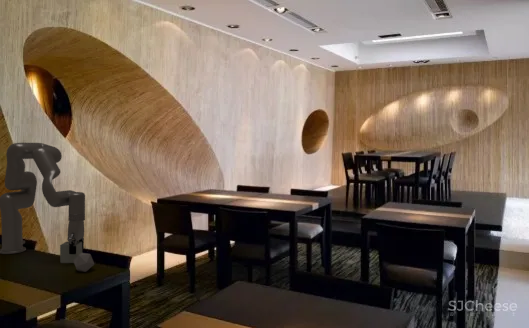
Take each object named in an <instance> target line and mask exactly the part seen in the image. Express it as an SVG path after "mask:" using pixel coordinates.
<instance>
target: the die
mask: <svg viewBox="0 0 529 328" xmlns="http://www.w3.org/2000/svg"><path fill="white" fill-rule="evenodd" d="M73 262H74V263H73V264H74V266H75V269H76V270H77V271H78V272H82V273H86V272H88V271H90V269H91V268H92V267H94V265H95V261H94V259H93V257H92V255H91V253H86V252H82V253H81V254H80V255H79V256H78V257H77V258H76V259H74V260H73Z"/></svg>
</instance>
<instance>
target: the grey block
mask: <svg viewBox="0 0 529 328" xmlns="http://www.w3.org/2000/svg"><path fill="white" fill-rule="evenodd" d="M73 243H74V242H73ZM59 246H60V247H59V255H60V256H59V257H60V258H59V259H60V260H59V261H60V264H74V262H73V260H74V259H76V258H77V257H78V256H79V255H80V254H81V253H83V249H82V242H76V245H75V246H76V254H69V241H65V242H63V243H61V244H60V245H59Z"/></svg>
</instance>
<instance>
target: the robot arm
mask: <svg viewBox="0 0 529 328" xmlns="http://www.w3.org/2000/svg"><path fill="white" fill-rule="evenodd" d="M5 155H6V156H5V157H6V170H5V179H4V187H5V188H6V190H8V191H9V192H5V193H3V194H1V195H0V215H1V216H0V218H1V248H0V254H1V255H10V254H13V255H14V254H19V253H22V252H25V251H26V250H27V248H26V247H25V246H23V245H24V244H26V240H23V216H22V215H21V213H20V211H19V210H22V209H27V208H31V207H33V205H34V202H35V200H36V199H35V198H36V193H37V184H38V179H37V176H36V174H35V173H34V172H32V171H26V163H25V161H24V160H33V161H34V163H35V165H36V167H37V168H38V171H39V173H40V174H41V177H42V178H43V180H42V184H41V192H42V195H43V197H44V199H45V200H46V202H47V203H48V205H49V206H50V207H52V208H61V207H66V206H67V207H68V226H67V238H66V239H67V242H69V254H76V246H75V245H76V242H82V250H83V249H85V248H84V246H85V221H86V194H85V193H84V192H81V191H74V190H69V189H68V190H61V191H60V190H59V191H56V189H55V187H54V185H53V180H54V179H56V178H57V177H59V176H60V174H61V169H60V167H59V165H58V164H57V163H59V162H60V161H61V160H62V156H63V155H62V152H61V150H60V148H57V147H55V146H53V145H49V144H45V143H42V142H15V143H11V144H10V145H9V146H8V147H7V150H6V154H5ZM10 191H11V192H10ZM73 242H74V243H73Z"/></svg>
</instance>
